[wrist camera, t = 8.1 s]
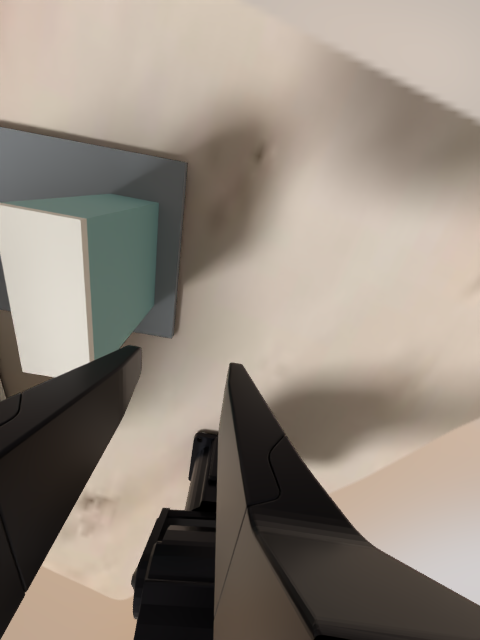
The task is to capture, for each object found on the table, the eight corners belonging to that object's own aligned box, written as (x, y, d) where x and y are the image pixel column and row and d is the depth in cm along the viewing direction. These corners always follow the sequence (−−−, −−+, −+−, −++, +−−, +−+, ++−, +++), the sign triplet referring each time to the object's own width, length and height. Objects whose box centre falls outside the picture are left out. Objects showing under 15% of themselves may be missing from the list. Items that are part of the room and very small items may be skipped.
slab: (154, 305, 21) (90, 383, 13) (112, 298, 21) (22, 372, 13) (158, 202, 18) (80, 220, 10) (110, 193, 18) (-10, 203, 10)
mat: (173, 334, 23) (171, 338, 22) (-8, 303, 22) (-15, 307, 22) (187, 162, 17) (185, 162, 17) (-49, 117, 17) (-59, 115, 16)
